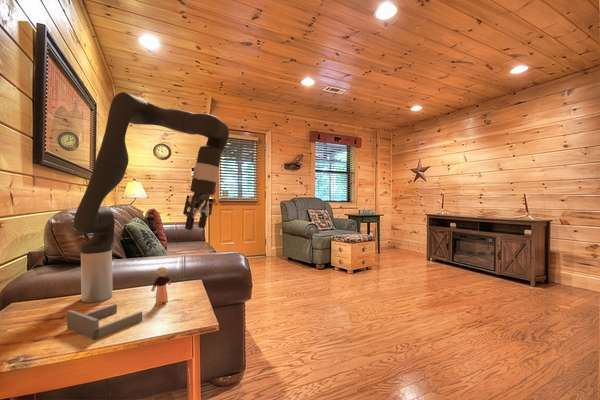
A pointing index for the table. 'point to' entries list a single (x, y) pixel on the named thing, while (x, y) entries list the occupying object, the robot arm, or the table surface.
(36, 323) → the table surface
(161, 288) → the grandmother figurine
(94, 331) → the charcoal bay
